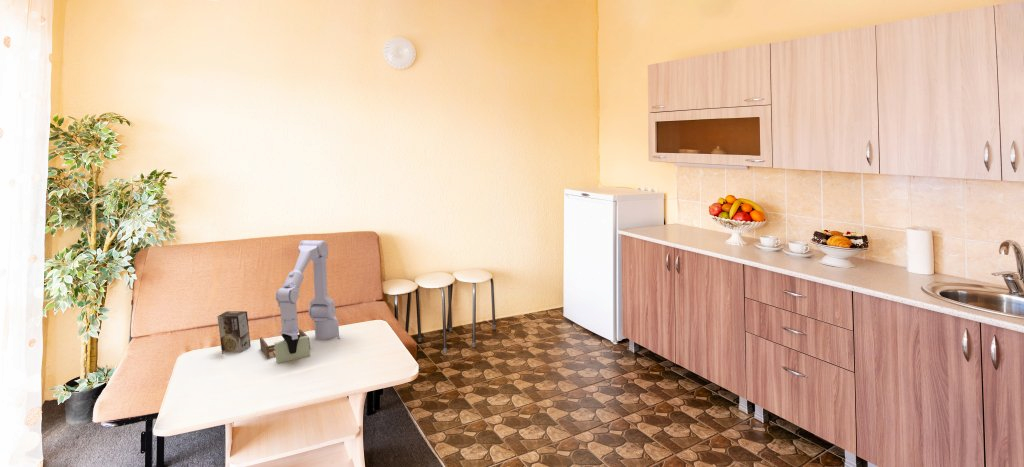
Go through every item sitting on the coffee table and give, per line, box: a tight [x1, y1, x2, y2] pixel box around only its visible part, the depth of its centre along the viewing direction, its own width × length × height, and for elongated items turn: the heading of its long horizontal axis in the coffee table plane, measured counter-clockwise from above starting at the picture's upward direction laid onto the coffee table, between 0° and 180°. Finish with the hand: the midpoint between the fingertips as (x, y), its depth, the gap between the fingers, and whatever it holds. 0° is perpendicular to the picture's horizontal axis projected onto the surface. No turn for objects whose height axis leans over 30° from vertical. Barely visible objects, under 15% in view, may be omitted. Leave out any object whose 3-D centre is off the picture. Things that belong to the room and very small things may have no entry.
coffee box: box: [217, 310, 252, 355], centre depth 215 cm, size 9×6×16 cm
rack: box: [259, 328, 311, 360], centre depth 214 cm, size 16×13×6 cm
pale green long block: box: [274, 335, 311, 364], centre depth 204 cm, size 12×2×8 cm, turn 125°
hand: (292, 352), depth 204 cm, fingers closed on pale green long block, 2 cm apart
